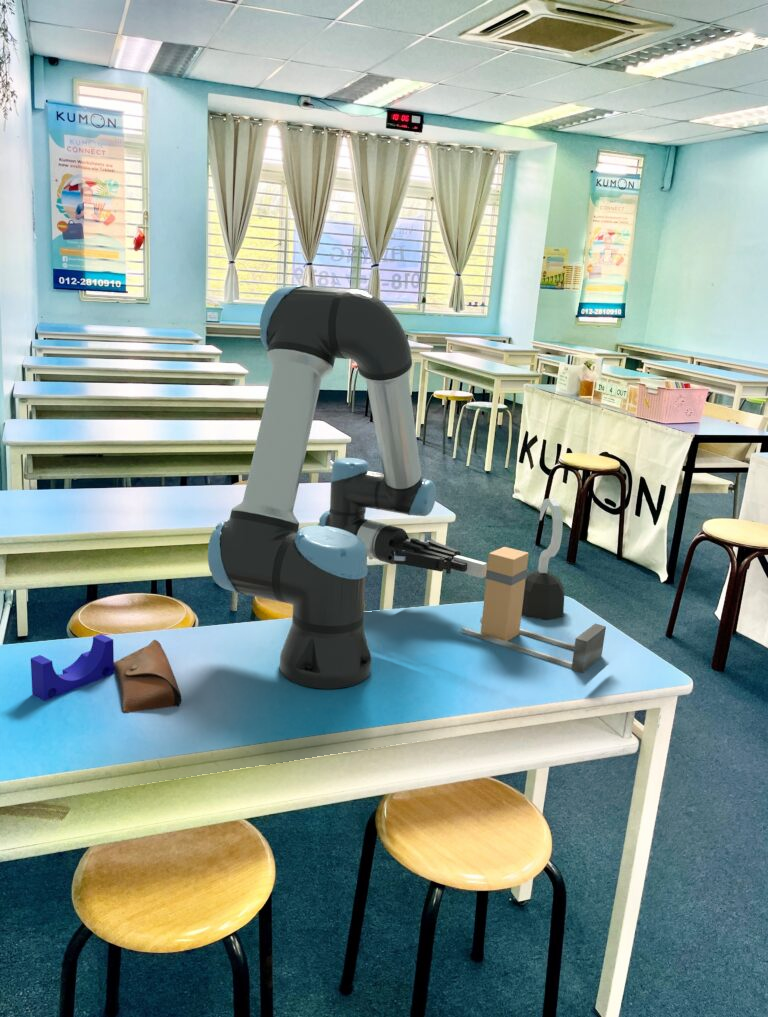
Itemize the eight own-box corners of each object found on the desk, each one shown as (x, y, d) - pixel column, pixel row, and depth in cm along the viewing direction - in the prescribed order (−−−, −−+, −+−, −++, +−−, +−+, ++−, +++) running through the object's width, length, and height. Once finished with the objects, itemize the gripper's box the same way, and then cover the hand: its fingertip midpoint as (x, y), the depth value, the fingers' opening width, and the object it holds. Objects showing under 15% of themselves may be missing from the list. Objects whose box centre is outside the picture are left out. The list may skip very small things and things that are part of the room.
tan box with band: (479, 635, 144) (488, 553, 140) (495, 626, 149) (504, 546, 145) (504, 643, 141) (514, 559, 137) (519, 633, 146) (529, 552, 142)
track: (459, 640, 145) (462, 603, 143) (482, 626, 152) (486, 591, 150) (581, 680, 132) (586, 641, 130) (600, 664, 139) (605, 626, 137)
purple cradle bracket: (96, 665, 125) (95, 631, 124) (113, 674, 123) (113, 639, 121) (26, 692, 116) (24, 655, 114) (44, 702, 113) (42, 664, 112)
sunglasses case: (108, 661, 126) (129, 626, 126) (146, 676, 130) (167, 642, 130) (122, 714, 111) (147, 675, 111) (165, 730, 114) (189, 691, 114)
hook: (504, 606, 164) (517, 491, 158) (554, 607, 165) (569, 493, 159) (520, 627, 153) (534, 504, 147) (573, 628, 154) (589, 506, 148)
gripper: (400, 552, 165) (498, 580, 152) (363, 567, 155) (465, 598, 142) (402, 519, 163) (502, 544, 150) (365, 531, 153) (469, 559, 140)
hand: (484, 570), depth 146 cm, fingers closed
